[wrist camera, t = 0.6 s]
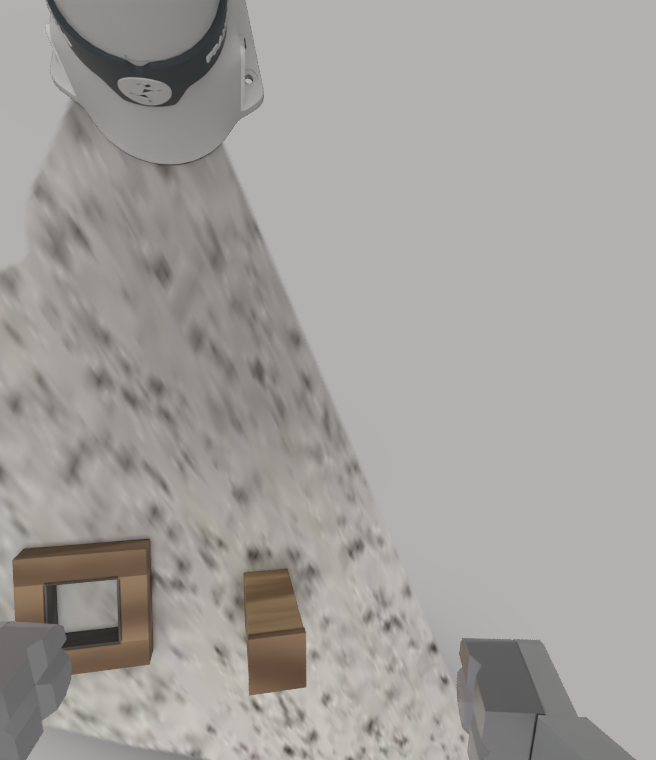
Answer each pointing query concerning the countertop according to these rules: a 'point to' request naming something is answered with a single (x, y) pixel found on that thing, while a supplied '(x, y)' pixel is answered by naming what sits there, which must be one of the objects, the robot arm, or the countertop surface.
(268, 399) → the countertop surface
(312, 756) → the countertop surface
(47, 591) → the wooden square frame
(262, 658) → the peg
